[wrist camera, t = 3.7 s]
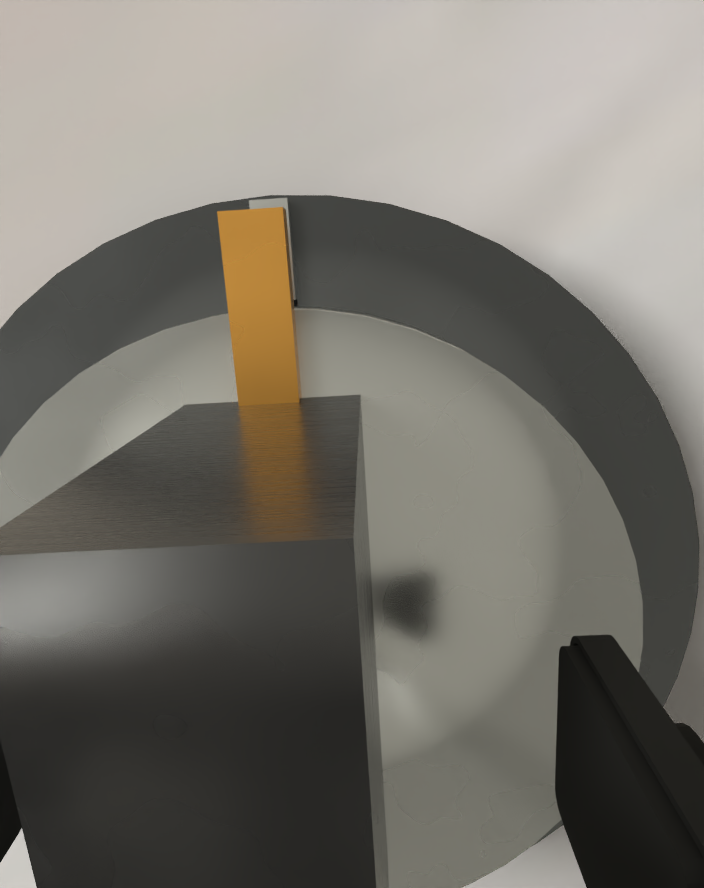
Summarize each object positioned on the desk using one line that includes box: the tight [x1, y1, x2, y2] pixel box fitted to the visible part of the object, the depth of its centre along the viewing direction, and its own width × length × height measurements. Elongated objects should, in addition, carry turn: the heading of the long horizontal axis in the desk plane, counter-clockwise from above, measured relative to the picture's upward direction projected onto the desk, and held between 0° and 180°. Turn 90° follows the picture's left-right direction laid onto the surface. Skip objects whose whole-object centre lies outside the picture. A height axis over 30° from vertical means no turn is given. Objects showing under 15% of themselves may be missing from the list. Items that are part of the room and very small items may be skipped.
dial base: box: [0, 195, 699, 846], centre depth 14 cm, size 17×17×2 cm
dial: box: [0, 207, 643, 888], centre depth 9 cm, size 14×13×8 cm
